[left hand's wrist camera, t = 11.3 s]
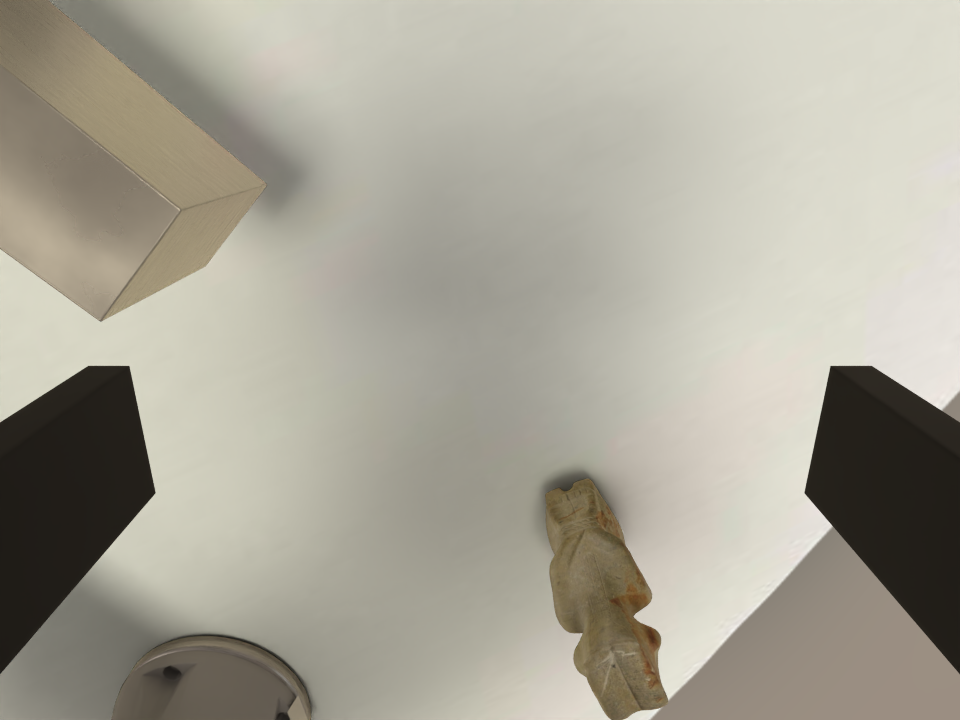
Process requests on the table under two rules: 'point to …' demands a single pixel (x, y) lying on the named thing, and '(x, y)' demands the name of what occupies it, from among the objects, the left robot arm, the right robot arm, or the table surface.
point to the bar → (103, 169)
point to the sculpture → (602, 602)
